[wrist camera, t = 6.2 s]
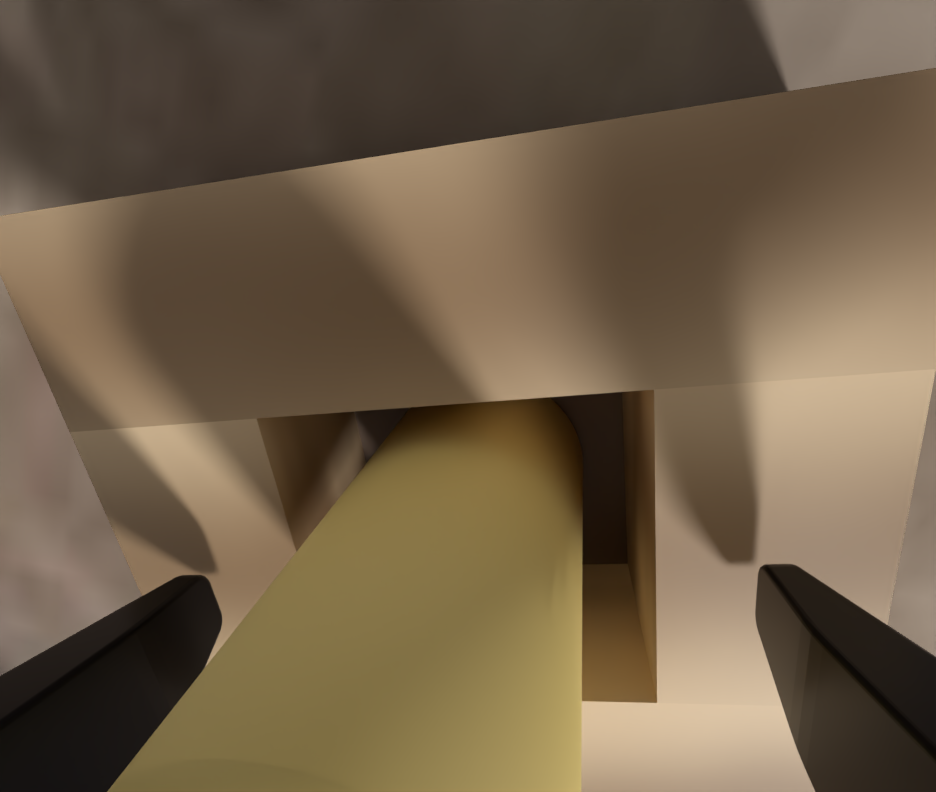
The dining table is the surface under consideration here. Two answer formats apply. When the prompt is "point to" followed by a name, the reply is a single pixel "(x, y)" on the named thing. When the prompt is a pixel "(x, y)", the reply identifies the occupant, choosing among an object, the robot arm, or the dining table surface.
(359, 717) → the peg
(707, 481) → the bore block
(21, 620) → the dining table surface
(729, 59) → the dining table surface
